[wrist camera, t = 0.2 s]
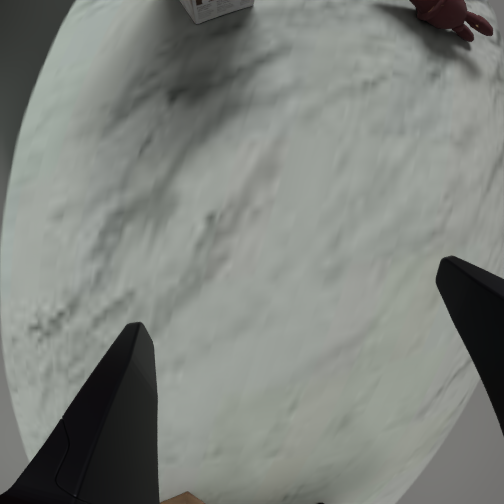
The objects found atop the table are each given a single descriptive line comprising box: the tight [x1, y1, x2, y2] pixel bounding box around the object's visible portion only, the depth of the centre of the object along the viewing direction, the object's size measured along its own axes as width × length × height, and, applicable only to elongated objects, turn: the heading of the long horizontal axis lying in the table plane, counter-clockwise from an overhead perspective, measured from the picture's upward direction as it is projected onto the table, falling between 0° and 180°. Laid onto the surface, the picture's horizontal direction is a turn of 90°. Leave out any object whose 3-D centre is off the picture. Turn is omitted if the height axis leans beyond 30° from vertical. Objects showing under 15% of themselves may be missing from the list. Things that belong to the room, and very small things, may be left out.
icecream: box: [410, 0, 493, 42], centre depth 20 cm, size 7×7×15 cm
